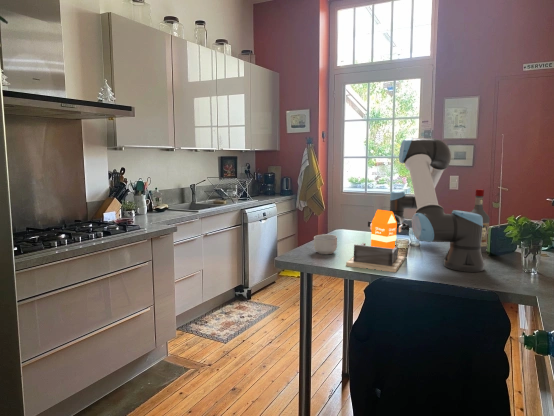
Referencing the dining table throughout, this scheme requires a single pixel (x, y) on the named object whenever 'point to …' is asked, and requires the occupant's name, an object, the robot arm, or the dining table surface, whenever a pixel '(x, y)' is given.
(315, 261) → the dining table surface
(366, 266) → the keeper cradle
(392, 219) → the orange juice
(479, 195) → the liquor
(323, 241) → the teacup
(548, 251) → the dining table surface
